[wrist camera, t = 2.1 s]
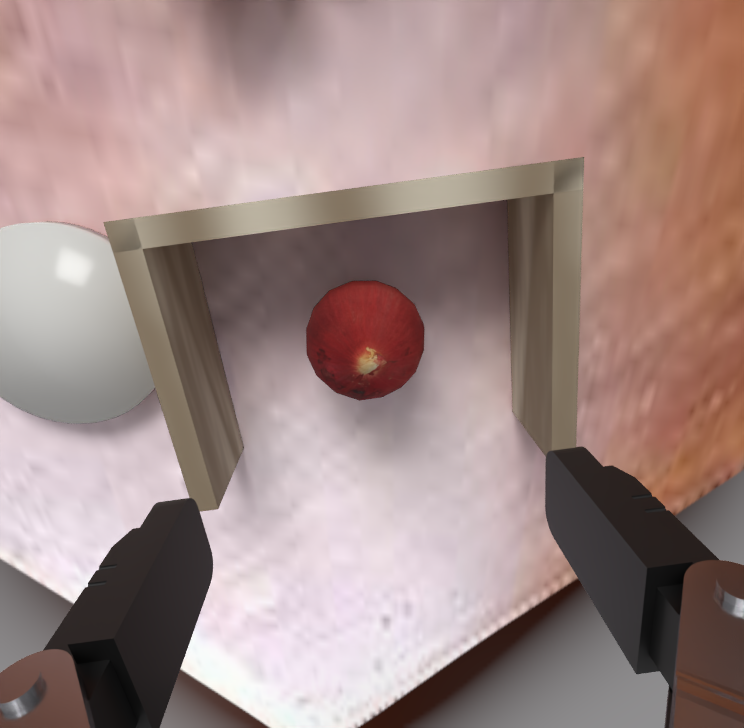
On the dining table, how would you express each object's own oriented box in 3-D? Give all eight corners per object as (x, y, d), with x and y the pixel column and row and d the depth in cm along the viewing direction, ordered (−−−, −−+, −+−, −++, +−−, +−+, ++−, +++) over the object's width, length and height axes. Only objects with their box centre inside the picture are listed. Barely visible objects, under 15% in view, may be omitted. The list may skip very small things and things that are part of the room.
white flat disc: (140, 207, 24) (130, 208, 23) (195, 401, 28) (189, 410, 27) (-72, 236, 24) (-92, 238, 23) (12, 426, 28) (-2, 435, 27)
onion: (391, 381, 28) (407, 450, 20) (298, 350, 27) (279, 411, 19) (429, 290, 26) (461, 329, 19) (331, 254, 25) (323, 279, 18)
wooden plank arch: (529, 165, 24) (584, 157, 18) (531, 409, 29) (575, 461, 23) (160, 215, 24) (103, 222, 19) (224, 450, 29) (194, 512, 23)
